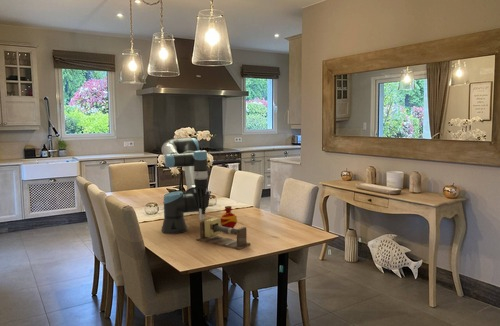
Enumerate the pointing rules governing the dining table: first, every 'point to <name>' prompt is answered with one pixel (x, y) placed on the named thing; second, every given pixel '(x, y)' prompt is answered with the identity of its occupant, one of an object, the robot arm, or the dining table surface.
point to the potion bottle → (228, 218)
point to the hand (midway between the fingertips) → (202, 219)
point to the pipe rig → (225, 242)
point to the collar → (209, 227)
